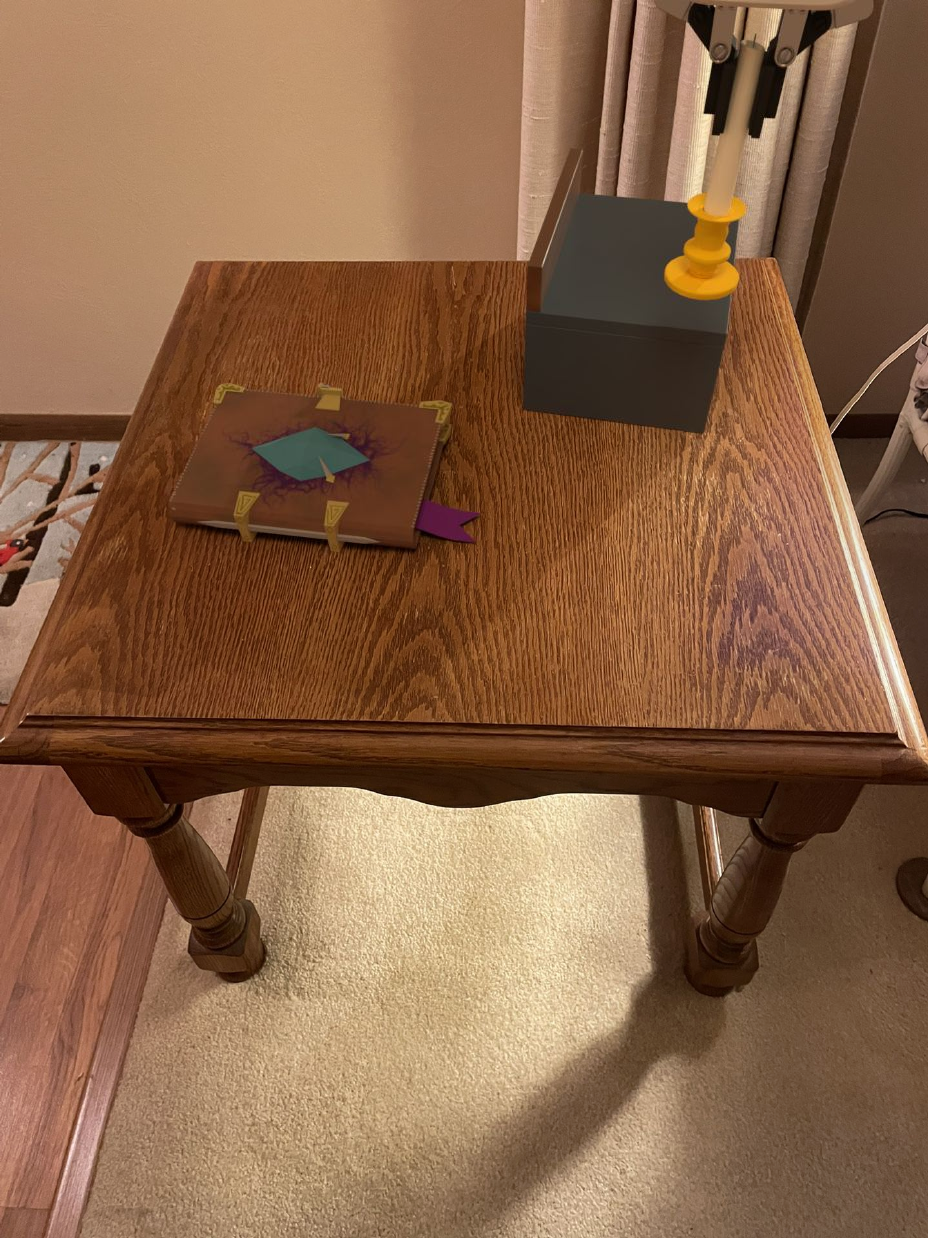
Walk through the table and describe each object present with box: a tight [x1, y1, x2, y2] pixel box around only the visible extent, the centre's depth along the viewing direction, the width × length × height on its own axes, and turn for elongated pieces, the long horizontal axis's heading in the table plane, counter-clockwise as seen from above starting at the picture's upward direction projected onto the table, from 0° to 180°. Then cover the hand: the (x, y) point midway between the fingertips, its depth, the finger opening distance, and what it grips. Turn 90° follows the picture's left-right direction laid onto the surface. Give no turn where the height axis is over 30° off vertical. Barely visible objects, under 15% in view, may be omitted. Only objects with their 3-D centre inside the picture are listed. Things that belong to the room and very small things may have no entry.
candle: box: [664, 32, 766, 300], centre depth 57 cm, size 5×5×16 cm
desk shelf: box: [522, 148, 740, 434], centre depth 79 cm, size 16×20×14 cm
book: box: [168, 381, 483, 553], centre depth 73 cm, size 16×25×5 cm, turn 80°
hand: (736, 125), depth 55 cm, fingers closed on candle, 1 cm apart
